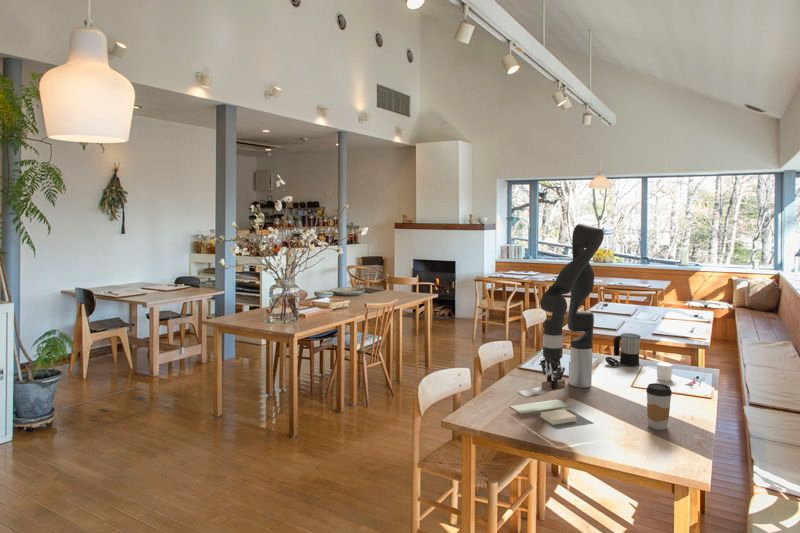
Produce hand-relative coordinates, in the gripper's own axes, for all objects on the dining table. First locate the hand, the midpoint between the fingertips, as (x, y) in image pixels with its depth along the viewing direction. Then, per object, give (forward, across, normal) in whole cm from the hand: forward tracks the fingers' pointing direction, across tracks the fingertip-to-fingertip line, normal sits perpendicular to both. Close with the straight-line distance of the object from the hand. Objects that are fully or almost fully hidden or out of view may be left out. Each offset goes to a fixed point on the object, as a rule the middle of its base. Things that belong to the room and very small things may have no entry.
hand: (551, 387), depth 227 cm
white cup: (+8, +13, -69) cm, 71 cm away
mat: (+8, -14, +4) cm, 16 cm away
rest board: (+8, 0, +5) cm, 9 cm away
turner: (+1, 0, +4) cm, 4 cm away
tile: (+6, -14, +1) cm, 15 cm away
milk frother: (+8, +38, -68) cm, 78 cm away
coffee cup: (+8, -31, -24) cm, 40 cm away
